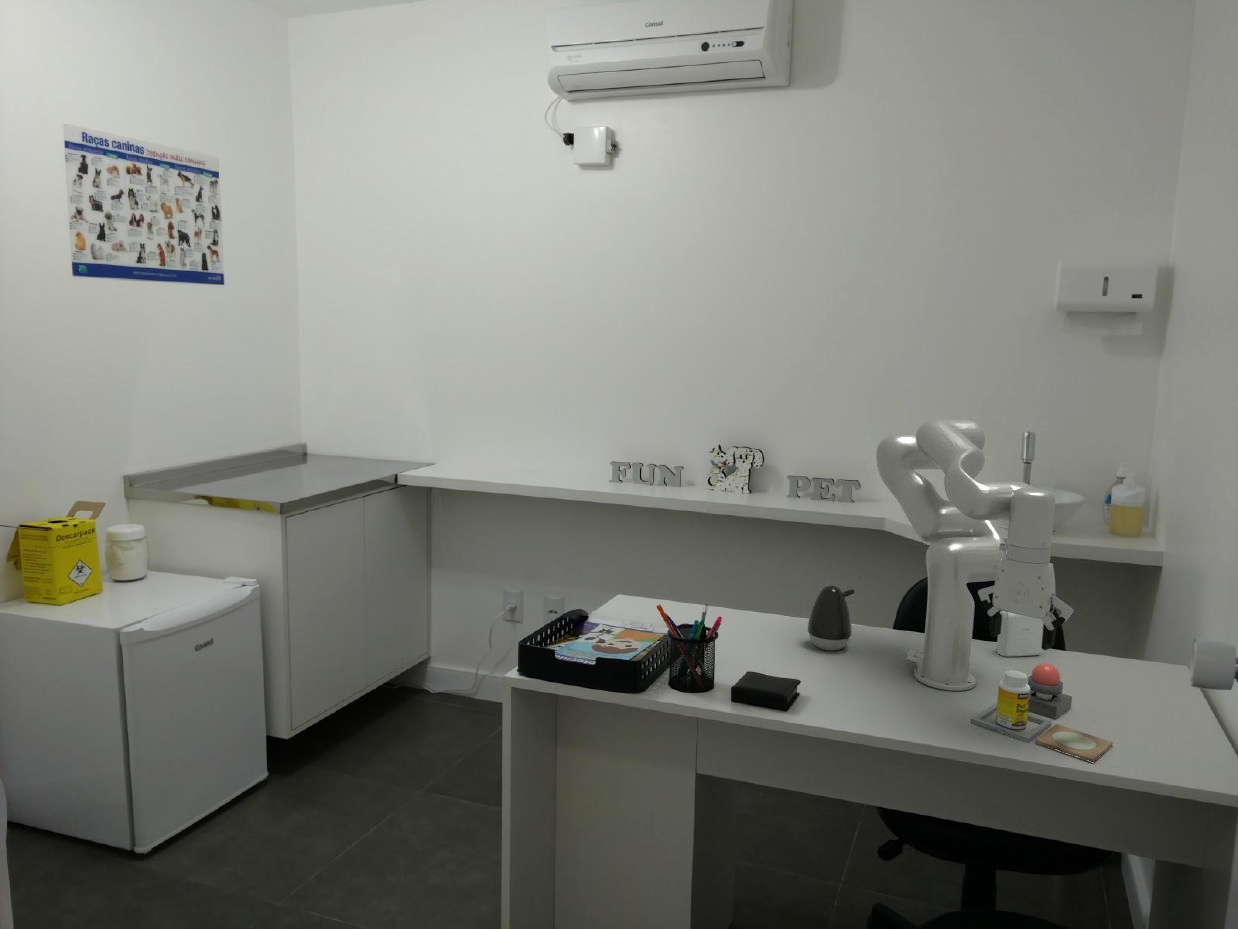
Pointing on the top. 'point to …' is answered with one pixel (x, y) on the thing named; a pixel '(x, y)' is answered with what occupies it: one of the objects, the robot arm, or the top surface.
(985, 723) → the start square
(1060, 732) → the pad
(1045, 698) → the dome cap
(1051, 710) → the dome housing
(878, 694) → the top surface
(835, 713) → the top surface
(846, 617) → the pump dispenser
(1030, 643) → the photo printer
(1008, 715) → the supplement bottle
